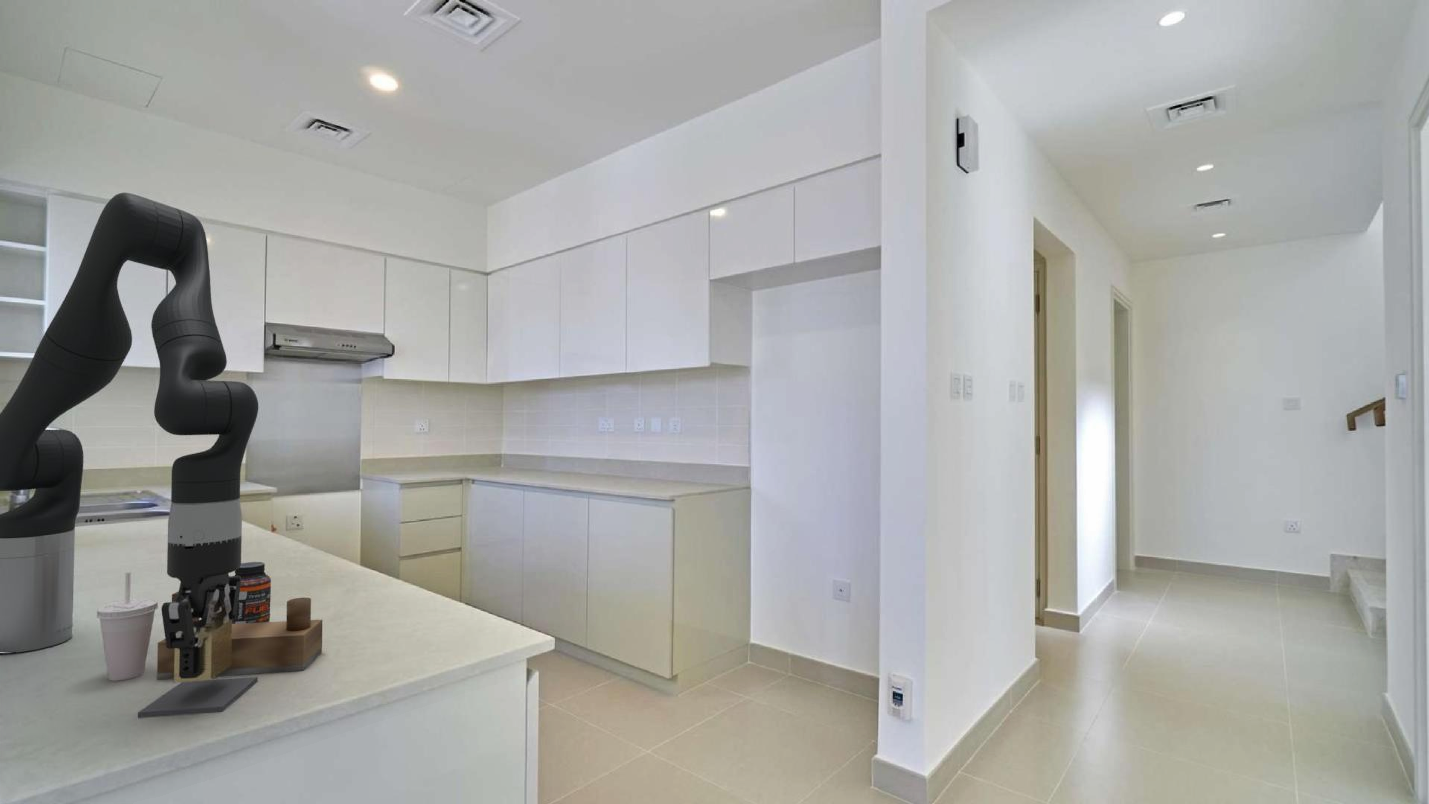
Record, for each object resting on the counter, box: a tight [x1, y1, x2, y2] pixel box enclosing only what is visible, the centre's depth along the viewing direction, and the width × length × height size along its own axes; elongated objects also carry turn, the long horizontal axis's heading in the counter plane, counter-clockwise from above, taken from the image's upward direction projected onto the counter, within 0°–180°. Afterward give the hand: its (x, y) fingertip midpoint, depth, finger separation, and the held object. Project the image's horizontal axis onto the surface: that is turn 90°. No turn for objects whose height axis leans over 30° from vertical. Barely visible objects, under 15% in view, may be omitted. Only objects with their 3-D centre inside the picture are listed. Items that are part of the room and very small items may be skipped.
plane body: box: [156, 591, 323, 681], centre depth 95 cm, size 18×7×11 cm, turn 102°
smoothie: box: [96, 572, 159, 681], centre depth 91 cm, size 6×6×14 cm
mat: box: [137, 676, 259, 718], centre depth 84 cm, size 9×9×1 cm
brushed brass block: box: [173, 619, 232, 684], centre depth 84 cm, size 4×5×7 cm
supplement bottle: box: [232, 561, 272, 624], centre depth 108 cm, size 6×6×11 cm
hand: (203, 667), depth 84 cm, fingers closed on brushed brass block, 5 cm apart
